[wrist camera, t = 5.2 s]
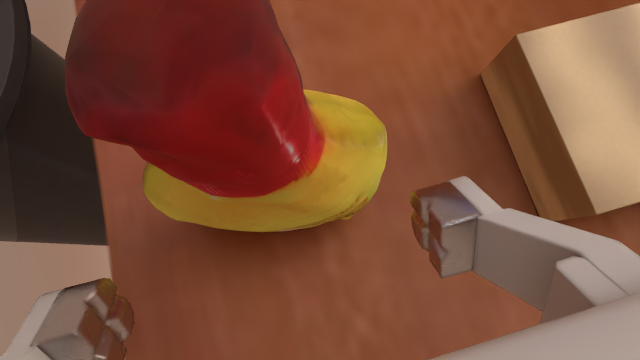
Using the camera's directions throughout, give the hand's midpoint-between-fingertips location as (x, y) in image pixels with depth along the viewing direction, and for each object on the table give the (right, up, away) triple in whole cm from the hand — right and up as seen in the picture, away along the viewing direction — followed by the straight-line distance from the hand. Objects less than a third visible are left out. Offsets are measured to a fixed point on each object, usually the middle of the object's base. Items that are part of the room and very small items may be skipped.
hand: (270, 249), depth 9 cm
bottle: (-1, +1, +16) cm, 16 cm away
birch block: (+21, +6, +17) cm, 28 cm away
